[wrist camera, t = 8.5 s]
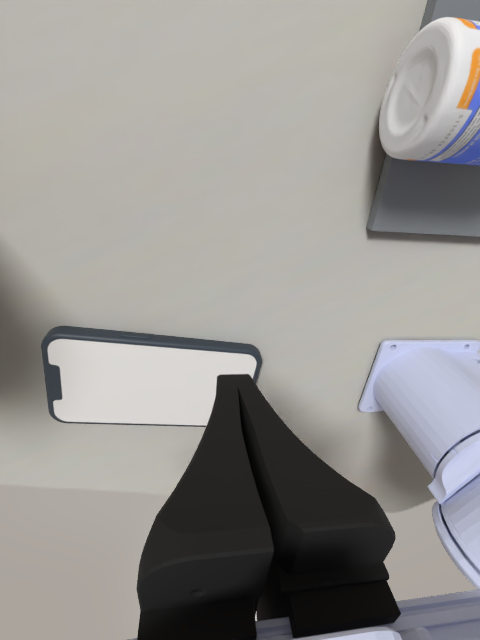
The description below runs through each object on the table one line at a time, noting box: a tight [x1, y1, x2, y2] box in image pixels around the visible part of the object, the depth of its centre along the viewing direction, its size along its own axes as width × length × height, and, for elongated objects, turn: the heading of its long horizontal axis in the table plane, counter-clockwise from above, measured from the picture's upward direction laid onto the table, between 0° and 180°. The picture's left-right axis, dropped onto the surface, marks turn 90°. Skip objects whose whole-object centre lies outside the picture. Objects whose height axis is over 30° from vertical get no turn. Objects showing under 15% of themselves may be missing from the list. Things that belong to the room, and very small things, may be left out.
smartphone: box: [41, 326, 262, 427], centre depth 25 cm, size 9×2×16 cm
